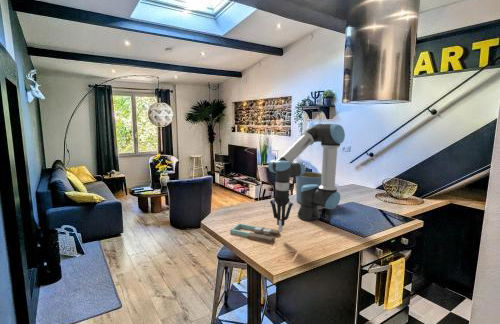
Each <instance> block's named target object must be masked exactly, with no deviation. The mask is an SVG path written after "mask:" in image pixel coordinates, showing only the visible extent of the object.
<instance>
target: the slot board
mask: <svg viewBox="0 0 500 324" xmlns="http://www.w3.org/2000/svg"><path fill="white" fill-rule="evenodd" d="M257 227H260V226H257ZM261 227H262V228H263V230H264V229H265V228H266V227H263V226H261ZM267 228H268V227H267ZM268 229H270V228H268ZM271 229H272V236H266V235H262V234H257V233H254V232H248V233H249V234H248V237H247V239H249V240H254V241H259V242H263V243H268V244H272V243H273V242H274V241H275V240H276V239H277V237H278V236H279V235H280V233H281V232H278V229H275V228H274V229H273V228H271Z"/></svg>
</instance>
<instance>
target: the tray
mask: <svg viewBox="0 0 500 324" xmlns="http://www.w3.org/2000/svg"><path fill="white" fill-rule="evenodd" d="M256 227H257V225H256V226H254V225H250V224H245V223H239V222H238V224H236V225H234V226H233V227H232V228H231V229H230V230H229V231H230V232H229V233H230V234H231V235H237V236H242V237H245V238H248V234H249V233H250V232H247V231H242V230H239V229H245V230H249V231H254V228H256Z"/></svg>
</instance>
